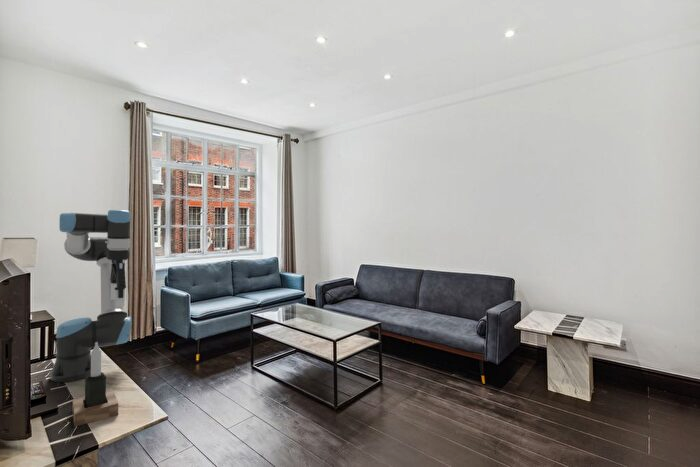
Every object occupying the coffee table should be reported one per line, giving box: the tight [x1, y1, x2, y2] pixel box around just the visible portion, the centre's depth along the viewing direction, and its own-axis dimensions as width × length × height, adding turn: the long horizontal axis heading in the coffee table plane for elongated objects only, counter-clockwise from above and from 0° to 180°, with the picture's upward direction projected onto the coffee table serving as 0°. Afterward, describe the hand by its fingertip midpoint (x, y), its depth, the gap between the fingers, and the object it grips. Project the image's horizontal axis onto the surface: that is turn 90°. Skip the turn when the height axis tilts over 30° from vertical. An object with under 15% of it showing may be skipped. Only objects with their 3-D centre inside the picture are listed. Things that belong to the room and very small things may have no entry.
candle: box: [84, 342, 107, 408], centre depth 122 cm, size 5×5×25 cm
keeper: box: [71, 389, 119, 427], centre depth 123 cm, size 12×12×4 cm
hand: (117, 302), depth 139 cm, fingers open, 13 cm apart
